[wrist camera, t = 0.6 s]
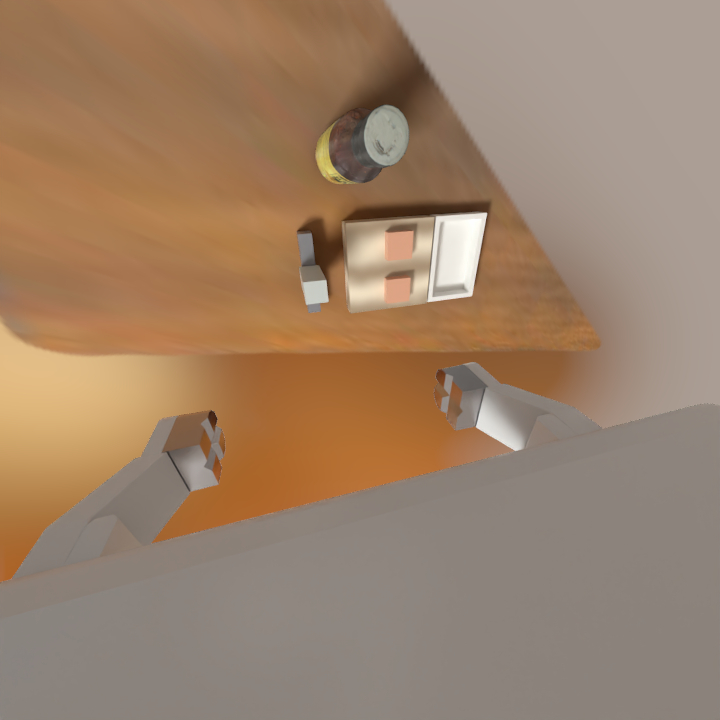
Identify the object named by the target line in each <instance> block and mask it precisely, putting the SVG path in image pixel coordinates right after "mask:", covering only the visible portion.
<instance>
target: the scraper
mask: <svg viewBox="0 0 720 720" xmlns="http://www.w3.org/2000/svg"><path fill="white" fill-rule="evenodd" d="M297 238H298V245H299V252H300V259H301V266H302V267H299V271H300V278H301V284H302V289H303V293H304V298H305V302H306V305H307V308H308V312H309V313H312V312H320V311H321V308H320V303H324V302H329V301H328V291H327V281H326V278H325V276H324V274H323V272H322V270H321V268H320V266H319V265H315V257H314V248H313V239H312V233H311V231H310V230H308V231H297Z"/></svg>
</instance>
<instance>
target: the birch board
mask: <svg viewBox="0 0 720 720" xmlns="http://www.w3.org/2000/svg"><path fill="white" fill-rule="evenodd" d="M434 218H435V217H432V216H428V215H420V216H406V217H391V218H377V219H362V220H348V221H342V234H343V250H344V266H345V282H346V298H347V308H348V309H349V311H350V313H357V312H364V311H372V310H379V309H387V308H395V307H402V306H410V305H417V304H425V303H426V302H427V291H428V281H429V270H430V260H431V250H432V239H433V229H434ZM397 230H413V231H414V233H413V249H412V259H402V260H392V261H387V260H386V259H385V231H397ZM403 275H408V276H409V277H411V281H410V298H409V301H405V302H397V303H389V304H387V303H386V302H385V301H384V278H385V277H394V276H403Z"/></svg>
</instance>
